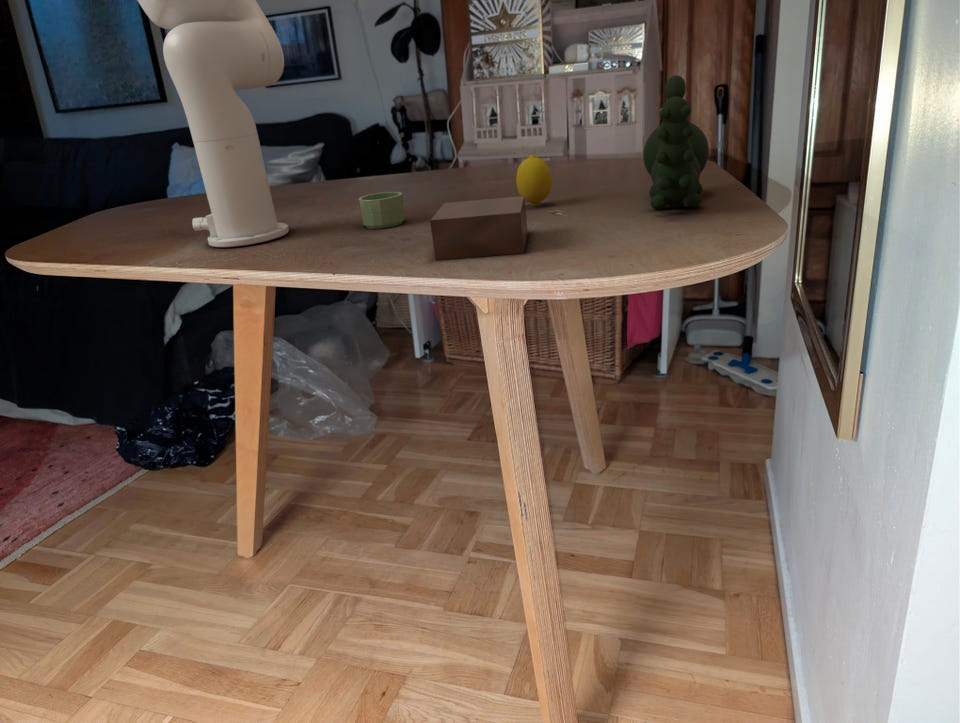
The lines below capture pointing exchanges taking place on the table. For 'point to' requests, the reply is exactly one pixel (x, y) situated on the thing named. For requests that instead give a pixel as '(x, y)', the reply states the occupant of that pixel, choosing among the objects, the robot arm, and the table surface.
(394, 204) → the bowl
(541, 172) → the lemon
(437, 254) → the stand
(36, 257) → the table surface
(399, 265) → the table surface
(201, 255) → the table surface
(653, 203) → the toy figurine
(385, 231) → the table surface
